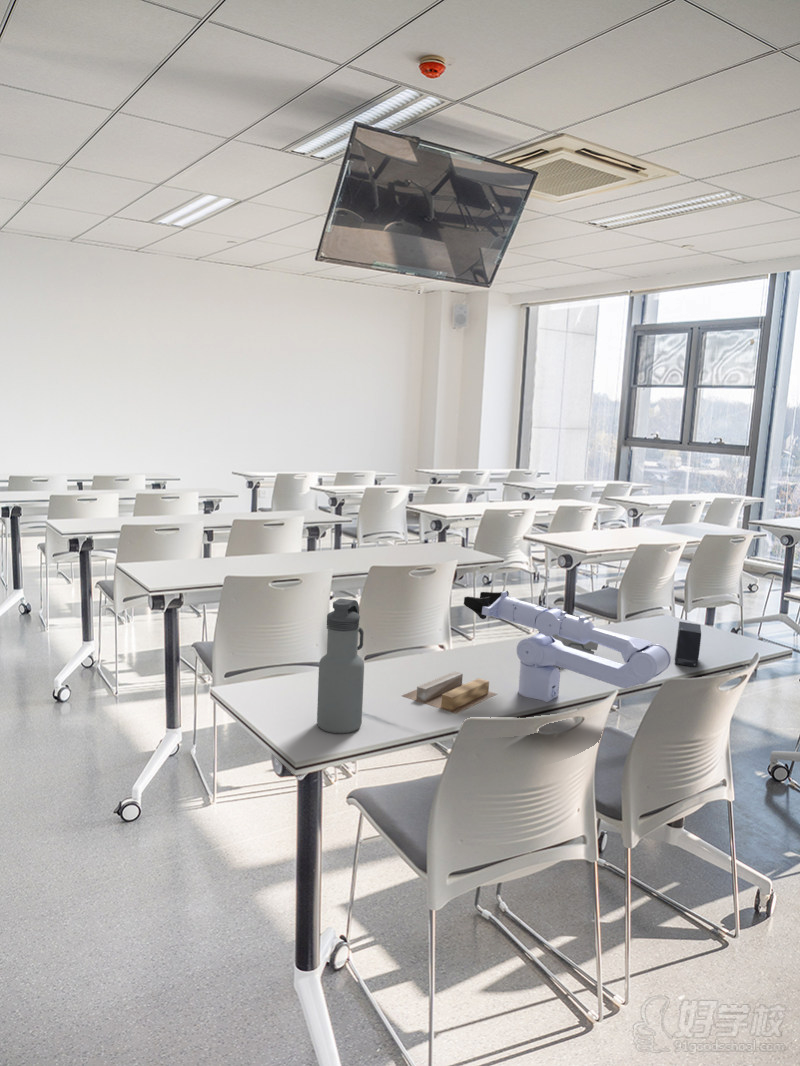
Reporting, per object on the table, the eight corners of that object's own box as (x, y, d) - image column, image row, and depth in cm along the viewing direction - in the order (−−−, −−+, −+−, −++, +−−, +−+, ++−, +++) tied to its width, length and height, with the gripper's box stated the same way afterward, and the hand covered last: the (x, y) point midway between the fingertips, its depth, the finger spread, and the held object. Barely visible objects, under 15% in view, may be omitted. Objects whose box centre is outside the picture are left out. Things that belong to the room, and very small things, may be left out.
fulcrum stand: (497, 697, 199) (498, 682, 199) (456, 717, 185) (457, 700, 185) (443, 682, 209) (444, 667, 208) (401, 699, 195) (401, 683, 194)
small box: (698, 668, 232) (702, 632, 230) (674, 664, 234) (678, 629, 232) (697, 657, 242) (701, 623, 240) (674, 654, 244) (678, 620, 242)
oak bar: (478, 689, 201) (478, 678, 201) (488, 692, 200) (489, 681, 199) (441, 706, 189) (441, 694, 188) (451, 710, 187) (452, 697, 187)
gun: (528, 661, 226) (537, 626, 226) (587, 667, 241) (595, 635, 241) (535, 663, 224) (543, 628, 224) (593, 670, 239) (601, 637, 239)
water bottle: (327, 713, 184) (331, 593, 179) (368, 720, 181) (373, 598, 177) (309, 730, 174) (314, 603, 170) (352, 737, 171) (357, 608, 167)
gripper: (534, 591, 206) (489, 579, 214) (506, 601, 195) (459, 587, 203) (531, 618, 208) (486, 604, 216) (502, 629, 196) (455, 614, 204)
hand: (472, 598), depth 209 cm, fingers open, 7 cm apart
